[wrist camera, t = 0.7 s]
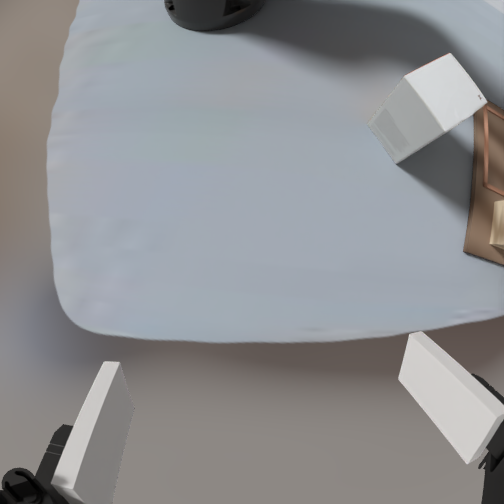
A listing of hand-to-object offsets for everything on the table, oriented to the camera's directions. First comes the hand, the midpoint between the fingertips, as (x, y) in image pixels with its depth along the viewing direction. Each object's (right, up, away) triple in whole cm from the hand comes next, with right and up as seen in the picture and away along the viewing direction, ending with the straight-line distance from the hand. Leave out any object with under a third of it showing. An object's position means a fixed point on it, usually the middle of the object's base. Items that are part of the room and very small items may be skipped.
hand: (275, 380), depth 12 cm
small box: (+18, +21, +21) cm, 35 cm away
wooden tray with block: (+37, +15, +20) cm, 45 cm away
